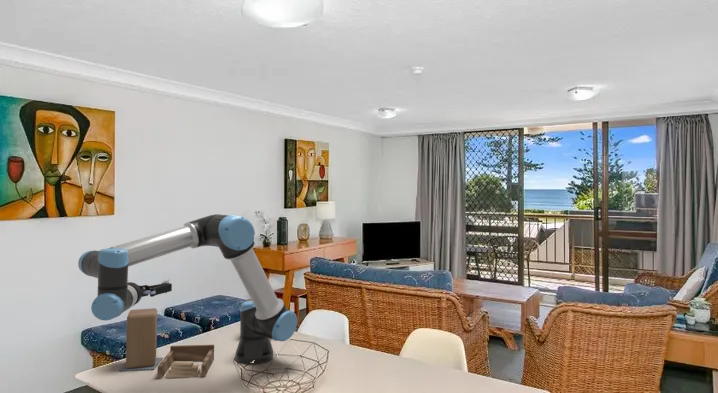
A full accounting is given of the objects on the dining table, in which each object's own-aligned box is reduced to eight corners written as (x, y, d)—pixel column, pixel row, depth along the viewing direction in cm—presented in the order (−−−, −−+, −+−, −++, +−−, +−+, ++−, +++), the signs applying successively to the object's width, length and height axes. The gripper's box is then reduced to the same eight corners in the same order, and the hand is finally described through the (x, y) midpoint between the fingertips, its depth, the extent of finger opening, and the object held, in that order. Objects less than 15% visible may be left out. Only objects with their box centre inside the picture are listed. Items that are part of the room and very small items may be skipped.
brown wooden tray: (170, 361, 177) (171, 345, 177) (213, 359, 179) (214, 344, 179) (157, 378, 159) (157, 361, 159) (205, 377, 161) (205, 360, 162)
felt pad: (131, 359, 177) (131, 358, 177) (162, 358, 179) (162, 357, 179) (119, 371, 165) (119, 369, 165) (153, 370, 167) (153, 368, 167)
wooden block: (128, 360, 175) (129, 309, 175) (156, 357, 179) (157, 307, 179) (125, 369, 166) (126, 315, 166) (155, 366, 169) (156, 313, 169)
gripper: (81, 309, 136) (110, 294, 157) (167, 307, 139) (184, 293, 160) (81, 284, 136) (110, 273, 157) (168, 283, 139) (184, 272, 160)
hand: (147, 283), depth 159 cm, fingers open, 13 cm apart
